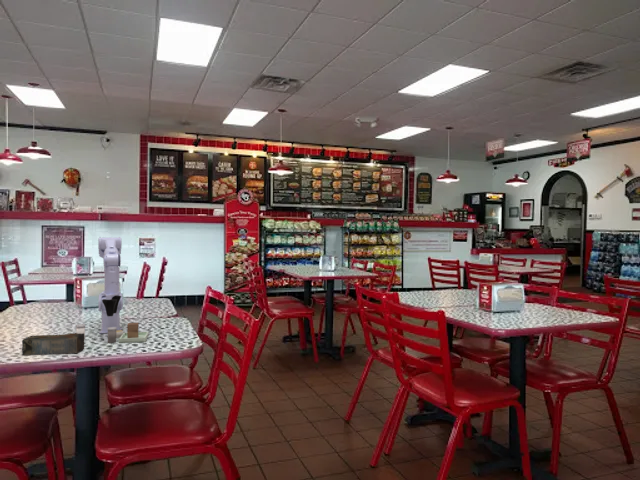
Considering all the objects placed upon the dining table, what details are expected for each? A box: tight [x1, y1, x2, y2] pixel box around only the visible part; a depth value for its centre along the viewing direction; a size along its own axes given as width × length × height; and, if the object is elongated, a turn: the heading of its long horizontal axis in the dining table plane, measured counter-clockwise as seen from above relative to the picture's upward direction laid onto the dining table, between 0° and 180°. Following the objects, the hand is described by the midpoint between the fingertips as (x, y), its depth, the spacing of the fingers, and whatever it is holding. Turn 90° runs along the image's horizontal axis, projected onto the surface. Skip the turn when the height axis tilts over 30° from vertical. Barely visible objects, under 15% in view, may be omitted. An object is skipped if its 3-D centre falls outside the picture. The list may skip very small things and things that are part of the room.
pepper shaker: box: [107, 327, 117, 344], centre depth 189 cm, size 3×3×6 cm
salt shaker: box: [75, 323, 86, 341], centre depth 194 cm, size 3×3×6 cm
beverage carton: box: [21, 332, 85, 356], centre depth 174 cm, size 8×19×7 cm, turn 101°
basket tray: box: [118, 331, 150, 344], centre depth 195 cm, size 12×10×2 cm
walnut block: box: [126, 322, 139, 338], centre depth 195 cm, size 4×4×6 cm
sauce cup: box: [116, 329, 124, 339], centre depth 200 cm, size 4×4×3 cm
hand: (111, 314), depth 197 cm, fingers open, 7 cm apart
